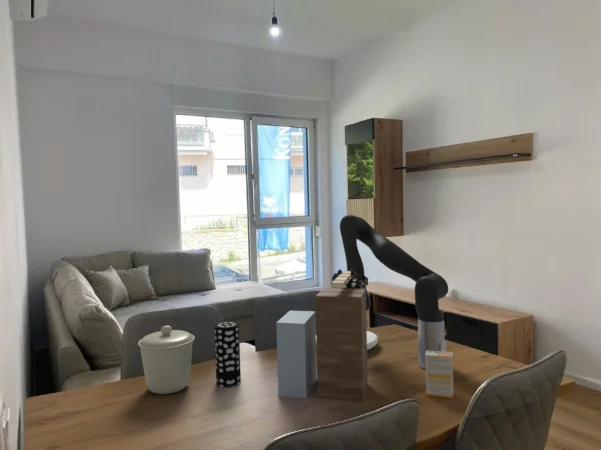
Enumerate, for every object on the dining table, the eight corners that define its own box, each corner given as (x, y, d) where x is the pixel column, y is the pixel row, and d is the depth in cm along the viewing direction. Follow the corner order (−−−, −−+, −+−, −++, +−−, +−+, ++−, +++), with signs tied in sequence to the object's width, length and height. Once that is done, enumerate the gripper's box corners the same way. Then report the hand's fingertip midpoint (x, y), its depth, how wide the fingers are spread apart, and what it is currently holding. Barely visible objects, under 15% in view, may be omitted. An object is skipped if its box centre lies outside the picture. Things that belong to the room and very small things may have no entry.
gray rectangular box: (291, 377, 159) (289, 310, 158) (316, 378, 156) (315, 311, 155) (278, 396, 143) (276, 322, 142) (306, 398, 141) (304, 323, 140)
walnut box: (326, 380, 155) (324, 287, 153) (367, 383, 151) (365, 288, 150) (317, 398, 141) (315, 296, 140) (362, 401, 138) (361, 297, 136)
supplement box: (453, 392, 143) (453, 351, 142) (453, 399, 138) (453, 356, 138) (426, 389, 145) (426, 349, 145) (425, 395, 141) (424, 354, 140)
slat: (343, 275, 161) (343, 271, 161) (353, 275, 160) (353, 271, 160) (332, 287, 138) (331, 282, 138) (343, 287, 137) (343, 282, 137)
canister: (158, 405, 139) (155, 337, 138) (129, 389, 151) (127, 327, 150) (207, 386, 152) (205, 324, 151) (177, 373, 164) (175, 316, 163)
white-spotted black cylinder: (245, 379, 157) (243, 322, 156) (231, 388, 150) (230, 328, 149) (225, 376, 161) (223, 320, 160) (211, 385, 153) (209, 326, 152)
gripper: (334, 279, 173) (326, 261, 158) (371, 279, 169) (366, 261, 154) (333, 298, 169) (324, 282, 155) (371, 298, 166) (366, 282, 151)
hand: (345, 272), depth 155 cm, fingers closed on slat, 3 cm apart
